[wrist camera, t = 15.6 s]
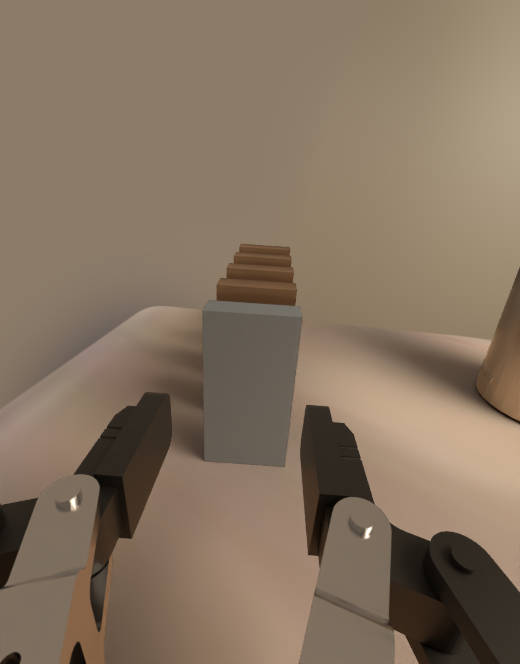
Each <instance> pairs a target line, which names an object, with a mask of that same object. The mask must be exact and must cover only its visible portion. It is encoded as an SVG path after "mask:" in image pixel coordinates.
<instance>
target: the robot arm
mask: <svg viewBox="0 0 520 664" xmlns="http://www.w3.org/2000/svg"><path fill="white" fill-rule="evenodd" d="M476 387H477V390H478V391H479V393H480V394H481V395H482V397H483V398H484V399H485V400H487V401H488V402H489V403H490V404H491V405H493V406H494V407H495V408H497V409H498V410H500V411H501V412H503V413H505V414H507V415H508V416H510V417H512V418H514V419H516V420H518V421H520V268H519V271H518V273H517V276H516V278H515V281H514V283H513V286H512V289H511V291H510V294H509V297H508V299H507V302H506V305H505V307H504V310H503V312H502V315H501V318H500V320H499V323H498V326H497V328H496V331H495V333H494V336H493V339H492V341H491V344H490V347H489V349H488V352H487V355H486V357H485V359H484V361H483V364H482V366H481V370H480V373H479V376H478V378H477V381H476ZM171 436H172V423H171V407H170V396H169V394H166V393H153V392H146V393H145V394H144V395H143V397H142V398H141V400H140V401H139V403H138V404H137V406H127V407H126V408H124V409H123V410H121V411H120V412H119V413H117V414H116V415H115V416H114V417H113V419H112V420H111V422H110V423H109V425H108V426H107V429H105V430H104V432H103V433H102V435H101V437H100V439H98V440H97V442H96V443H95V445H94V446H93V447H92V449H91V450H90V452H89V453H88V455H87V456H86V457H85V459H84V460H83V462H82V463H81V465H80V466H79V467H78V469H77V470H76V472H75V473H74V475H71V476H68V477H65V478H62V479H60V480H58V481H56V482H54V483H53V484H51V485H50V486H49V487H48V488H46V489H45V490H44V491H43V492H42V494H41V495H40V496H39V498H35V499H31V500H25V501H20V502H15V503H9V504H4V505H1V504H0V664H105V659H104V638H105V627H106V618H107V609H108V600H109V591H110V582H111V572H112V563H113V556H112V551H113V549H114V547H115V545H116V542H117V540H118V538H128V539H132V537H133V534H134V532H135V529H136V527H137V524H138V522H139V520H140V517H141V515H142V512H143V510H144V507H145V505H146V503H147V500H148V498H149V495H150V493H151V490H152V488H153V485H154V483H155V481H156V478H157V476H158V473H159V471H160V468H161V466H162V464H163V461H164V459H165V456H166V454H167V451H168V449H169V446H170V442H171ZM360 458H361V457H360V454H359V451H358V450H357V444H356V441H355V437H354V434H353V433H352V432H351V431H350V430H349V428H348V427H347V426H346V425H345V424H344V423H336V422H332V418H331V413H330V409H329V407H328V406H315V405H306V409H305V416H304V423H303V430H302V437H301V448H300V459H301V472H302V484H303V497H304V509H305V521H306V534H307V546H308V555H314V556H318V557H319V566H320V571H319V575H318V580H317V584H316V589H315V593H314V597H313V602H312V606H311V611H310V615H309V620H308V624H307V629H306V633H305V638H304V642H303V647H302V652H301V656H300V661H299V664H394V650H395V641H394V630H396V631H398V632H400V633H402V634H404V635H405V636H406V638H407V640H408V642H409V644H410V646H411V648H412V650H413V652H414V654H415V656H416V659H417V661H418V663H419V664H520V592H519V591H518V590H517V588H516V587H515V586H514V585H513V583H512V582H511V581H510V580H509V579H508V577H507V576H506V575H505V574H504V572H503V571H502V570H501V569H500V568H499V566H498V565H497V564H496V563H495V561H494V560H493V559H492V558H491V557H490V555H489V554H488V553H487V552H486V551H485V550H484V549H483V548H482V547H481V546H480V545H478V544H477V543H476V542H474V541H473V540H471V539H469V538H468V537H466V536H464V535H461V534H458V533H455V532H448V531H445V532H440V533H437V534H436V535H434V536H433V537H432V539H431V541H428V540H426V539H423V538H421V537H418V536H415V535H413V534H410V533H407V532H405V531H403V530H401V529H399V528H397V527H395V526H394V525H392V524H391V523H390V522H389V520H388V518H387V517H386V515H385V514H384V513H383V511H382V510H381V509H380V508H379V507H377V506H376V505H375V503H374V501H373V498H372V494H371V491H370V488H369V484H368V481H367V478H366V474H365V471H364V467H363V464H362V461H361V460H360Z"/></svg>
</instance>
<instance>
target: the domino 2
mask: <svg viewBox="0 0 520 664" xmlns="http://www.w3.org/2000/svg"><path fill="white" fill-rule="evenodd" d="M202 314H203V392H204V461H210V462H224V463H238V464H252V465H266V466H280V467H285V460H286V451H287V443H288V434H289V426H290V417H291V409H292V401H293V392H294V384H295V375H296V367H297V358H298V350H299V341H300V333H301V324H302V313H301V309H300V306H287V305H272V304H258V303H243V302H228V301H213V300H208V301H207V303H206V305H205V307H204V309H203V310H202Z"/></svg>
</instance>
